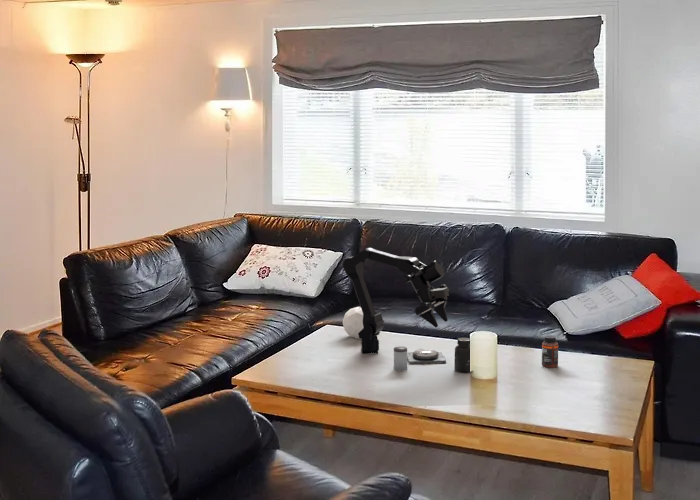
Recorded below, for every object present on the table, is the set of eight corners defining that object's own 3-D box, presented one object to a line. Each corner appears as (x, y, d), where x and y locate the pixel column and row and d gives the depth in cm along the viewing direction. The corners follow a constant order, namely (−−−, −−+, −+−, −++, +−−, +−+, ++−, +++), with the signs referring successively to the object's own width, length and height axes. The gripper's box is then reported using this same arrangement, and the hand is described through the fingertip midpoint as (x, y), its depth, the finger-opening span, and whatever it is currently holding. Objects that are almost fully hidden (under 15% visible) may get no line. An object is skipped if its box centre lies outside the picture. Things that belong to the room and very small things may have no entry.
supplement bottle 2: (558, 364, 309) (559, 335, 307) (557, 368, 303) (558, 339, 301) (542, 362, 311) (543, 333, 309) (540, 367, 305) (541, 338, 303)
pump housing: (394, 371, 303) (394, 350, 302) (393, 367, 308) (393, 346, 307) (408, 370, 303) (407, 350, 302) (406, 366, 308) (406, 346, 307)
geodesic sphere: (345, 317, 361) (342, 297, 351) (376, 318, 359) (374, 298, 349) (342, 344, 351) (339, 324, 342) (374, 345, 350) (371, 324, 340)
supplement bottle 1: (472, 373, 299) (472, 342, 297) (453, 373, 300) (453, 341, 298) (473, 368, 305) (473, 337, 303) (455, 367, 307) (455, 336, 305)
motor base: (409, 363, 312) (409, 356, 311) (405, 354, 324) (405, 347, 323) (445, 362, 312) (446, 355, 312) (441, 354, 324) (441, 346, 324)
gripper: (428, 283, 302) (449, 321, 300) (448, 274, 318) (468, 309, 316) (405, 296, 307) (425, 333, 306) (426, 286, 323) (445, 321, 322)
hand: (441, 324), depth 312 cm, fingers open, 9 cm apart
